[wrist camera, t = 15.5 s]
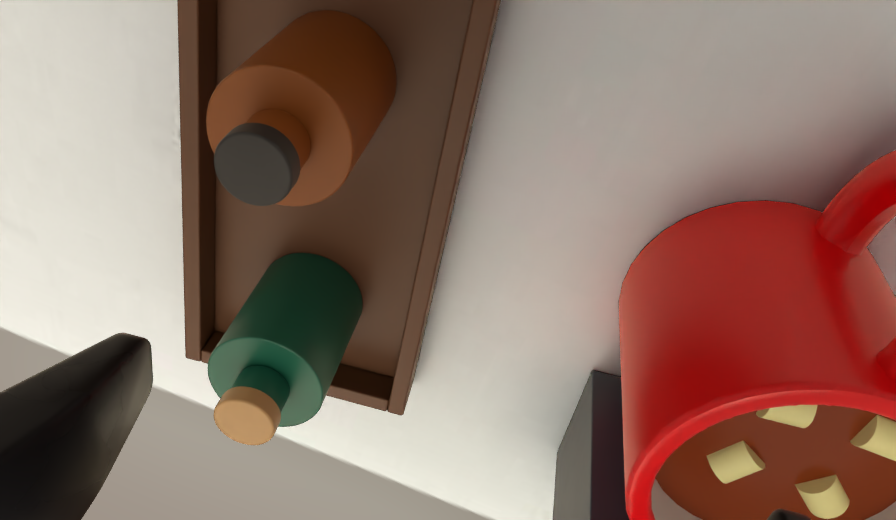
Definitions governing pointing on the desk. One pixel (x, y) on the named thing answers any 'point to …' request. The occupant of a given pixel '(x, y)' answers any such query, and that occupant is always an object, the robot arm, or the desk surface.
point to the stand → (593, 456)
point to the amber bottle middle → (300, 110)
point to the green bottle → (283, 347)
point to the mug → (763, 362)
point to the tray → (359, 198)
